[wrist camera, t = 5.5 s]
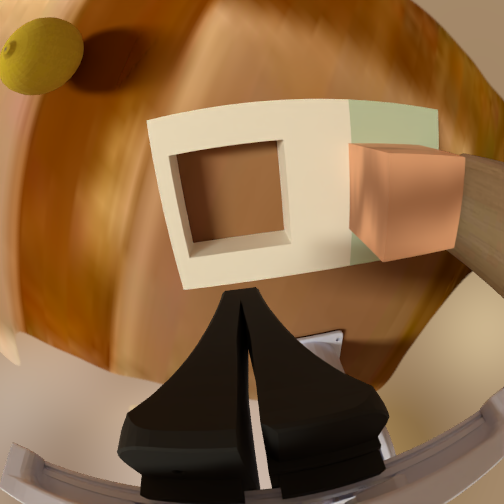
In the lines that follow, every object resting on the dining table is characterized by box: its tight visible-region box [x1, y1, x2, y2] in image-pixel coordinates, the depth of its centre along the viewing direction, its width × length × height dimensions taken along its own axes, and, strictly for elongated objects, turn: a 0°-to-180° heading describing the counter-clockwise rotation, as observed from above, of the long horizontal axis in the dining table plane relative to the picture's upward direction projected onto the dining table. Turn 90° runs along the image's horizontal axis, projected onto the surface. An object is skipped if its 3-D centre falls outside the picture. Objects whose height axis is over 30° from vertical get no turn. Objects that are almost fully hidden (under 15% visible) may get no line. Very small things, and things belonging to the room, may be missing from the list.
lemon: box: [0, 17, 84, 95], centre depth 9 cm, size 6×6×8 cm
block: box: [348, 143, 465, 262], centre depth 15 cm, size 6×6×5 cm
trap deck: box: [147, 99, 439, 290], centre depth 18 cm, size 12×20×2 cm, turn 96°
